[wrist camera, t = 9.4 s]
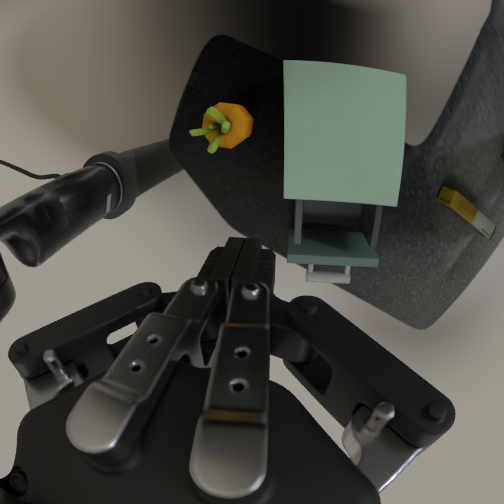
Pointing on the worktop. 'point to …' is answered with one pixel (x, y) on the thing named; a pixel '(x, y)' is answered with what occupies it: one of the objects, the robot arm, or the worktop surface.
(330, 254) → the green drawer
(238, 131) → the carrot
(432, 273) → the worktop surface
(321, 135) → the green drawer housing
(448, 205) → the medication box
